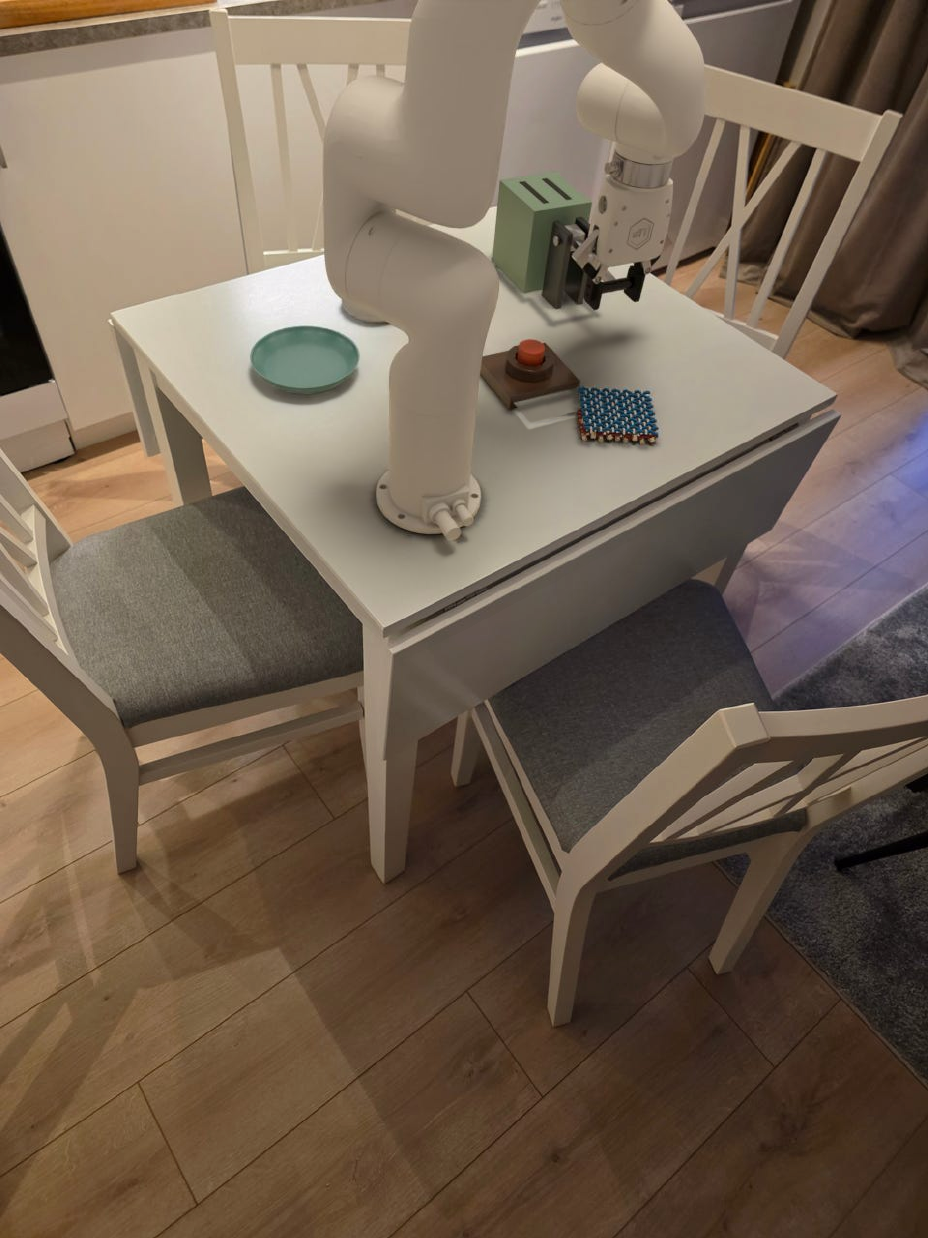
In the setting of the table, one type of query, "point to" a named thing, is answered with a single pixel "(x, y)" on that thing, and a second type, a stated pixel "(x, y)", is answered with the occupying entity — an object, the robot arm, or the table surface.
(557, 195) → the toaster
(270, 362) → the saucer
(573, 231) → the lever
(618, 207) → the robot arm
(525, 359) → the button
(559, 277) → the bracket
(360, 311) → the donut
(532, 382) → the control block
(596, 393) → the woven mat
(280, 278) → the table surface
